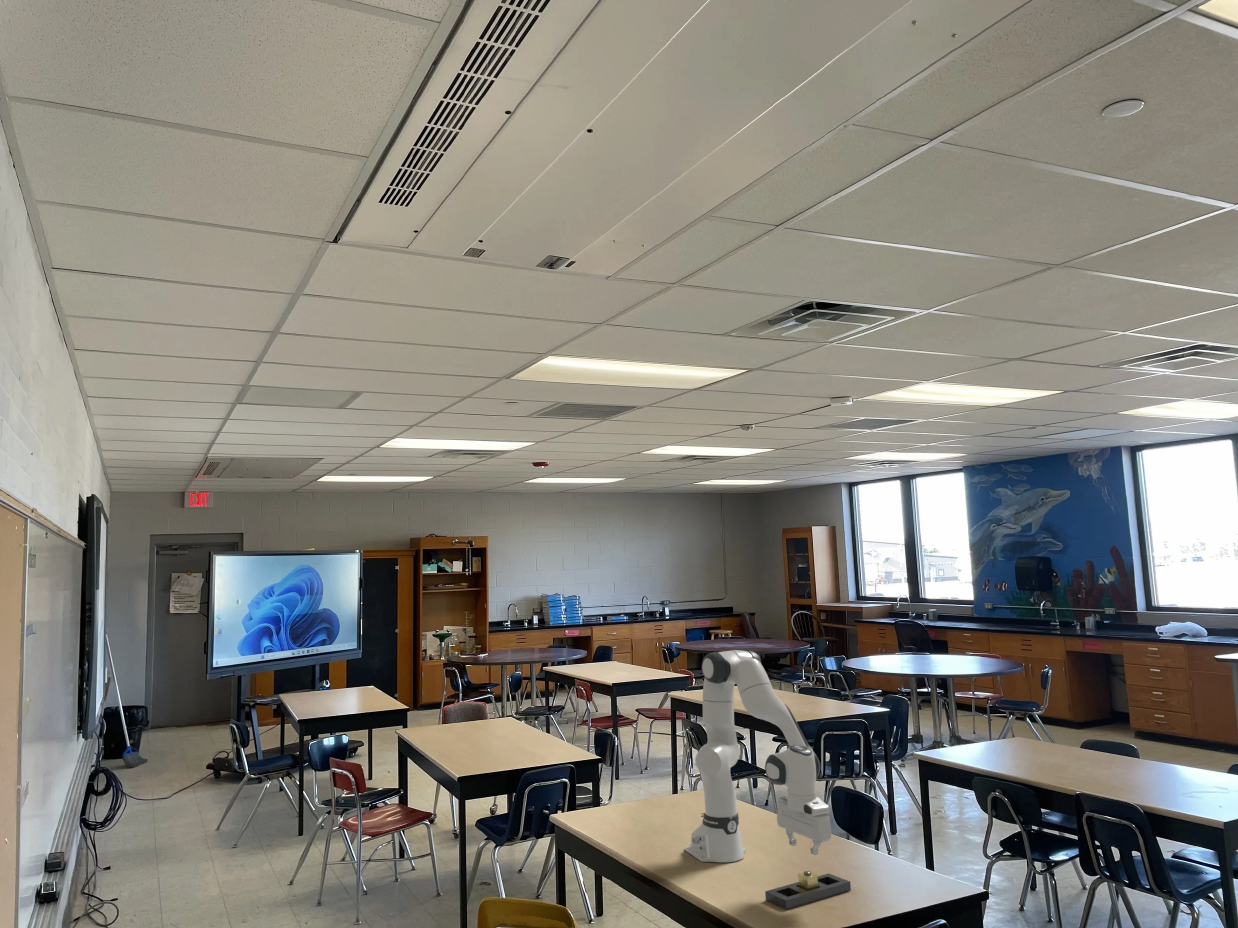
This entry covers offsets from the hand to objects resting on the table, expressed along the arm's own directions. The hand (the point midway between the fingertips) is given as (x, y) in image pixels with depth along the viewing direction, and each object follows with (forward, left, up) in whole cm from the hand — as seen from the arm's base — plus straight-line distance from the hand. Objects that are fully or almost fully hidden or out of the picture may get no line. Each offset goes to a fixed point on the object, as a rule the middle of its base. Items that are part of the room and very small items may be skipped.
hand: (803, 849), depth 250 cm
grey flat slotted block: (+1, +1, -13) cm, 13 cm away
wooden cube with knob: (+1, +1, -13) cm, 13 cm away
